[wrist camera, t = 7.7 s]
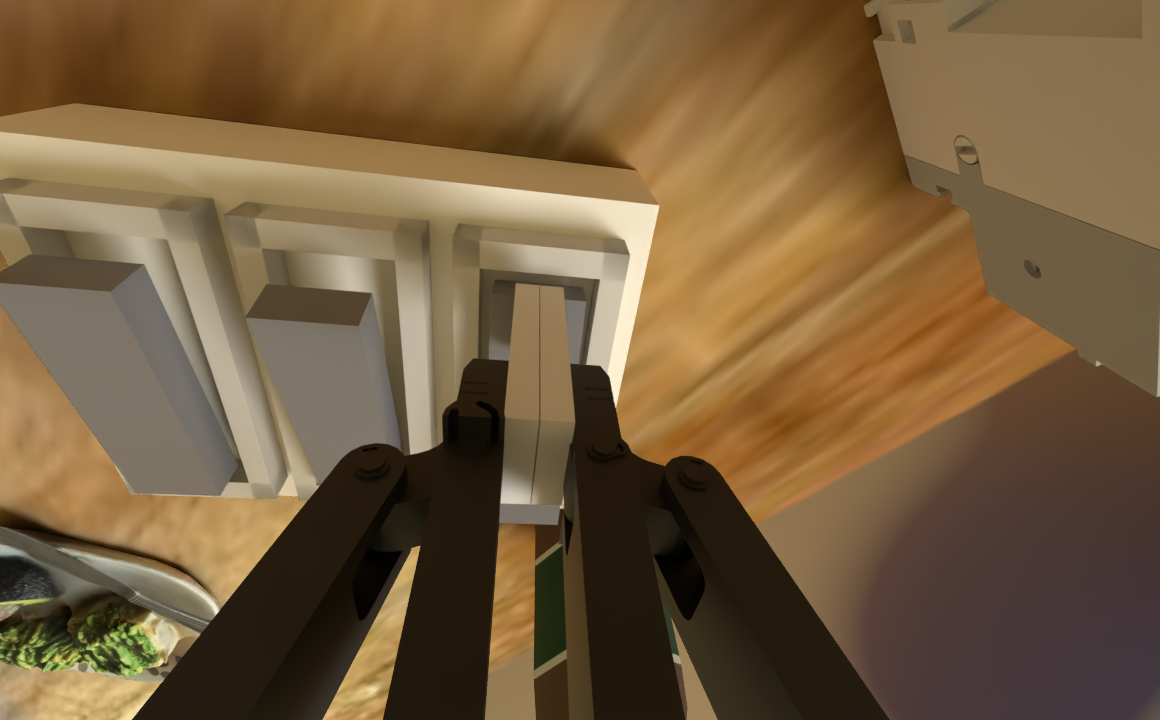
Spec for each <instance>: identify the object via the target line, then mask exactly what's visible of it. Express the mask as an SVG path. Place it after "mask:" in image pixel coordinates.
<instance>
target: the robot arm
mask: <svg viewBox="0 0 1160 720" xmlns="http://www.w3.org/2000/svg"><path fill="white" fill-rule="evenodd" d="M442 430H443V442H442V443H440V444H439V445H438V446H436V447H434V448H432V449H430V450H427V451H424V452H420V453H416V454H411V455H406V456H404V454H403V453H402V452H401V451H400V450H399V449H398V448H396V447H394V446H391V445H389V444H380V443H373V444H368V445H363V446H360V447H358V448H356V449H354V450H351V451H350V452H349V453H348V454H346V455H345V456H344V457H343V458H342V459H341V460H340V461H339V462H338V464H337V465H336V466H335V467H334V469H333V470H332V471H331V472H330V474H329V475H328V476H327V477H326V479H325V480H324V481H323V482H322V484H321V485H320V486H319V487H318V489H317V490H316V491H315V492H314V494H313V495H312V496H311V497H310V499H309V500H308V501H307V502H306V504H305V505H304V506H303V507H302V509H301V510H300V511H299V512H298V513H297V515H296V516H295V517H294V518H293V520H292V521H291V522H290V523H289V525H288V526H287V527H286V528H285V530H284V531H283V532H282V533H281V535H280V536H279V537H278V538H277V540H276V541H275V542H274V543H273V545H272V546H271V547H270V548H269V550H268V551H267V552H266V553H265V555H264V556H263V557H262V558H261V560H260V561H259V562H258V563H257V565H256V566H255V567H254V568H253V570H252V571H251V572H250V573H249V575H248V576H247V577H246V578H245V580H244V581H243V582H242V583H241V584H240V586H239V587H238V588H237V589H236V591H235V592H234V593H233V594H232V596H231V597H230V598H229V599H228V601H227V602H226V603H225V604H224V606H223V607H222V608H221V609H220V611H219V612H218V613H217V614H216V616H215V617H214V618H213V619H212V621H211V622H210V623H209V624H208V626H207V627H206V628H205V629H204V631H203V632H202V633H201V634H200V636H199V637H198V638H197V639H196V641H195V642H194V643H193V644H192V646H191V647H190V648H189V649H188V651H187V652H186V653H185V654H184V656H183V657H182V658H181V659H180V660H179V662H178V663H177V664H176V665H175V667H174V668H173V669H172V670H171V672H170V673H169V674H168V675H167V677H166V678H165V679H164V680H163V682H162V683H161V684H160V685H159V687H158V688H157V689H156V690H155V692H154V693H153V694H152V695H151V697H150V698H149V699H148V700H147V702H146V703H145V704H144V705H143V707H142V708H141V709H140V710H139V712H138V713H137V714H136V715H135V717H134V718H133V719H132V720H322V719H323V718H324V716H325V714H326V712H327V710H328V708H329V706H330V704H331V702H332V700H333V698H334V697H335V695H336V693H337V691H338V689H339V687H340V685H341V683H342V681H343V679H344V677H345V676H346V674H347V672H348V670H349V668H350V666H351V664H352V662H353V660H354V658H355V657H356V655H357V653H358V651H359V649H360V647H361V645H362V643H363V641H364V639H365V637H366V636H367V634H368V632H369V630H370V628H371V626H372V624H373V622H374V620H375V618H376V616H377V615H378V613H379V611H380V609H381V607H382V605H383V603H384V601H385V599H386V597H387V595H388V594H389V592H390V590H391V588H392V586H393V584H394V582H395V580H396V578H397V576H398V575H399V573H400V571H401V569H402V567H403V565H404V563H405V561H406V559H407V557H408V555H409V554H410V551H411V548H413V547H416V546H420V545H421V547H420V551H419V556H418V561H417V565H416V570H415V574H414V579H413V584H412V588H411V593H410V597H409V602H408V607H407V611H406V616H405V620H404V625H403V630H402V634H401V639H400V643H399V648H398V653H397V657H396V662H395V666H394V671H393V676H392V680H391V685H390V689H389V694H388V699H387V703H386V708H385V712H384V717H383V720H485V709H486V695H487V681H488V668H489V654H490V641H491V627H492V614H493V600H494V586H495V573H496V559H497V545H498V532H499V517H500V503H503V504H530V501H531V504H534V505H562V501H563V495H564V514H563V520H562V526H561V532H560V538H559V544H563V569H564V595H565V622H566V648H567V675H568V702H569V720H686V719H685V714H684V709H683V704H682V699H681V694H680V690H679V685H678V680H677V675H676V670H675V665H674V660H673V655H672V650H671V645H670V640H669V635H668V630H667V625H666V620H665V615H664V611H663V606H662V601H661V596H660V593H661V595H662V597H663V600H664V602H665V604H666V606H667V608H668V611H669V613H670V615H671V617H672V619H673V621H674V624H675V626H676V628H677V631H678V633H679V635H680V637H681V639H682V642H683V644H684V646H685V648H686V650H687V653H688V655H689V657H690V659H691V661H692V664H693V666H694V668H695V670H696V672H697V675H698V677H699V679H700V681H701V683H702V686H703V688H704V690H705V692H706V695H707V697H708V699H709V701H710V703H711V705H712V708H713V710H714V712H715V714H716V716H717V719H718V720H889V718H888V717H887V715H886V714H885V712H884V711H883V710H882V708H881V707H880V705H879V704H878V702H877V701H876V699H875V698H874V696H873V695H872V694H871V692H870V691H869V689H868V688H867V687H866V685H865V684H864V682H863V680H862V679H861V678H860V676H859V675H858V673H857V672H856V670H855V669H854V667H853V666H852V665H851V663H850V662H849V660H848V659H847V657H846V656H845V654H844V653H843V651H842V650H841V649H840V647H839V646H838V644H837V643H836V641H835V640H834V638H833V637H832V635H831V634H830V633H829V631H828V630H827V628H826V627H825V625H824V624H823V622H822V621H821V619H820V618H819V617H818V615H817V614H816V612H815V611H814V609H813V608H812V606H811V605H810V603H809V602H808V601H807V599H806V598H805V596H804V595H803V593H802V592H801V590H800V589H799V588H798V586H797V585H796V583H795V582H794V580H793V579H792V577H791V576H790V574H789V573H788V572H787V570H786V569H785V567H784V566H783V564H782V563H781V561H780V560H779V559H778V557H777V556H776V554H775V553H774V551H773V550H772V549H771V547H770V545H769V544H768V543H767V541H766V540H765V538H764V537H763V535H762V534H761V532H760V531H759V529H758V528H757V526H756V525H755V524H754V522H753V521H752V519H751V518H750V516H749V515H748V513H747V512H746V511H745V509H744V508H743V506H742V505H741V503H740V502H739V500H738V499H737V497H736V496H735V495H734V493H733V492H732V490H731V489H730V487H729V486H728V484H727V483H726V481H725V480H724V479H723V477H722V476H721V474H720V473H719V472H718V471H717V470H716V469H715V468H714V467H713V466H712V465H711V464H709V463H707V462H706V461H704V460H702V459H699V458H696V457H692V456H679V457H676V458H673V459H672V460H671V461H670V462H669V463H668V464H667V465H666V466H662V465H659V464H656V463H652V462H649V461H646V460H644V459H641V458H639V457H638V456H636V455H634V454H633V453H632V452H631V450H630V448H629V446H628V444H627V443H626V442H625V441H624V440H623V439H622V438H621V434H620V429H619V424H618V418H617V413H616V408H615V403H614V398H613V392H612V387H611V382H610V377H609V376H608V374H607V373H606V372H605V371H604V370H603V368H602V367H601V366H597V365H583V364H570V356H569V345H568V333H567V322H566V310H565V299H564V288H563V287H553V286H542V285H540V292H539V285H531V284H519V283H516V287H515V299H514V310H513V321H512V332H511V344H510V355H509V361H506V360H491V359H476V358H473V359H472V360H471V361H470V362H469V364H468V365H467V366H466V367H465V368H464V369H463V374H462V378H461V383H460V388H459V394H458V397H457V401H454V402H453V403H452V404H450V405H449V406H448V407H446V409H445V411H444V412H443V414H442Z"/></svg>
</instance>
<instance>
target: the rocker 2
mask: <svg viewBox="0 0 1160 720" xmlns="http://www.w3.org/2000/svg"><path fill="white" fill-rule="evenodd" d="M245 319H246V321H247V324H248V326H249V328H250V330H251V333H252V335H253V337H254V339H255V342H256V344H257V346H258V348H259V351H260V353H261V355H262V357H263V360H264V362H265V364H266V366H267V369H268V371H269V373H270V375H271V378H272V380H273V382H274V385H275V387H276V389H277V391H278V394H279V396H280V398H281V400H282V403H283V405H284V407H285V409H286V412H287V414H288V416H289V418H290V421H291V423H292V425H293V427H294V430H295V432H296V434H297V436H298V439H299V441H300V443H301V445H302V448H303V450H304V452H305V454H306V457H307V459H308V461H309V463H310V466H311V468H312V470H313V472H314V475H315V477H316V479H317V481H318V484H319V486H320V485H321V484H322V482H323V481H324V480H325V479H326V477H327V476H328V475H329V474H330V472H331V471H332V470H333V469H334V467H335V466H336V465H337V464H338V462H339V461H340V460H341V459H342V458H343V457H344V456H345V455H346V454H348V453H349V452H350V451H351V450H354V449H356V448H358V447H360V446H363V445H368V444H373V443H380V444H389V445H391V446H394V447H396V448H398V449H399V450H400V451H401V452H402V453H403V448H402V443H401V438H400V433H399V428H398V423H397V417H396V412H395V407H394V402H393V397H392V392H391V387H390V382H389V377H388V372H387V367H386V361H385V356H384V351H383V346H382V341H381V336H380V331H379V326H378V321H377V316H376V311H375V305H374V300H373V295H372V293H367V292H355V291H343V290H331V289H319V288H307V287H295V286H283V285H271V284H266V286H265V287H264V289H263V290H262V292H261V293H260V295H259V296H258V298H257V299H256V301H255V303H254V304H253V306H252V307H251V309H250V310H249V312H248V313H247V315H246V317H245ZM403 454H404V453H403Z"/></svg>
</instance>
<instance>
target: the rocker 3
mask: <svg viewBox="0 0 1160 720" xmlns="http://www.w3.org/2000/svg"><path fill="white" fill-rule="evenodd" d="M516 283H519V284H531V285H539V292H540V285H542V286H553V287H563V288H564V299H565V310H566V322H567V333H568V345H569V356H570V364H579V357H580V349H581V341H582V333H583V326H584V318H585V310H586V302H587V301H586V298H585V294H584V291H583V287H573V286H562V285H550V284H539V283H528V282H517V281H506V280H495V282H494V286H493V290H492V297H491V319H490V341H489V359H491V360H506V361H509V355H510V344H511V332H512V321H513V310H514V299H515V287H516ZM559 512H560V505H534V504H531V501H530V504H503V503H500V517H499V523H512V524H545V525H558V519H559Z"/></svg>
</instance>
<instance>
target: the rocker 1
mask: <svg viewBox="0 0 1160 720" xmlns="http://www.w3.org/2000/svg"><path fill="white" fill-rule="evenodd" d="M0 304H1V305H2V307H3V308H4V310H5V311H6V312H7V314H8V315H9V317H10V318H11V319H12V321H13V322H14V324H15V325H16V326H17V328H18V329H19V331H20V332H21V333H22V335H23V336H24V338H25V339H26V340H27V342H28V343H29V345H30V346H31V347H32V349H33V350H34V352H35V353H36V354H37V356H38V357H39V359H40V360H41V361H42V363H43V364H44V366H45V367H46V368H47V370H48V371H49V373H50V374H51V375H52V377H53V378H54V380H55V381H56V382H57V384H58V385H59V387H60V388H61V389H62V391H63V392H64V394H65V395H66V396H67V398H68V399H69V401H70V402H71V403H72V405H73V406H74V408H75V409H76V410H77V412H78V413H79V415H80V416H81V417H82V419H83V420H84V422H85V423H86V424H87V426H88V427H89V429H90V430H91V431H92V433H93V434H94V436H95V437H96V438H97V440H98V441H99V443H100V444H101V445H102V447H103V448H104V450H105V451H106V452H107V454H108V455H109V457H110V458H111V459H112V461H113V462H114V464H115V465H116V466H117V468H118V469H119V471H120V472H121V473H122V475H123V476H124V478H125V479H126V480H127V482H128V483H129V485H130V486H131V487H132V489H133V490H134V492H135V493H146V494H176V495H205V496H221V494H222V492H223V491H224V489H225V487H226V485H227V484H228V482H229V480H230V479H231V477H232V475H233V473H234V472H235V470H236V468H237V467H238V463H237V461H236V459H235V457H234V455H233V453H232V451H231V448H230V446H229V444H228V442H227V440H226V438H225V436H224V433H223V431H222V429H221V427H220V425H219V423H218V421H217V419H216V416H215V414H214V412H213V410H212V408H211V406H210V404H209V401H208V399H207V397H206V395H205V393H204V391H203V389H202V387H201V384H200V382H199V380H198V378H197V376H196V374H195V372H194V370H193V367H192V365H191V363H190V361H189V359H188V357H187V355H186V352H185V350H184V348H183V346H182V344H181V342H180V340H179V338H178V335H177V333H176V331H175V329H174V327H173V325H172V323H171V320H170V318H169V316H168V314H167V312H166V310H165V308H164V306H163V303H162V301H161V299H160V297H159V295H158V293H157V291H156V289H155V286H154V284H153V282H152V280H151V278H150V276H149V274H148V271H147V269H146V267H145V265H144V264H136V263H125V262H113V261H101V260H90V259H78V258H66V257H55V256H43V255H31V254H29V255H27V256H26V257H24V258H22V259H21V260H19V261H18V262H16V263H14V264H13V265H11V266H9V267H8V268H6V269H5V270H3V271H1V272H0Z"/></svg>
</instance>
